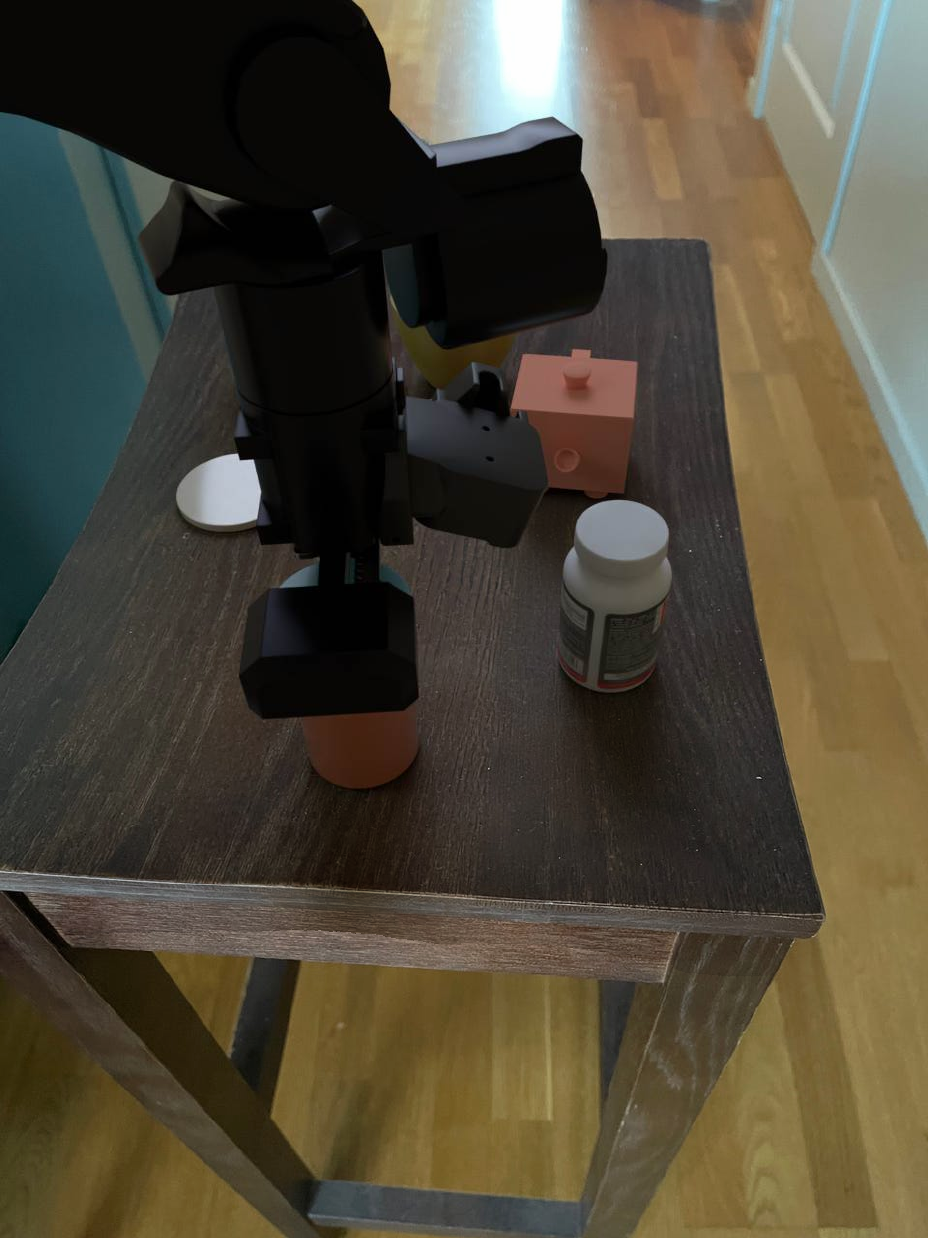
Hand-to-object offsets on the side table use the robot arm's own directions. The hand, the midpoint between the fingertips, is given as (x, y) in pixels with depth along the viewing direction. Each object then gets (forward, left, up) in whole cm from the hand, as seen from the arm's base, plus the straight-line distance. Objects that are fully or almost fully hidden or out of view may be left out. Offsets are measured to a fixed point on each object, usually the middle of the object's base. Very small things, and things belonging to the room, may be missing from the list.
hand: (360, 654), depth 44 cm
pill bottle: (+14, -2, -7) cm, 16 cm away
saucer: (+1, +24, -7) cm, 25 cm away
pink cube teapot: (+22, +13, -7) cm, 27 cm away
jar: (-1, 0, -7) cm, 7 cm away
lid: (0, 0, +3) cm, 3 cm away
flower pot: (+22, +28, -7) cm, 36 cm away
